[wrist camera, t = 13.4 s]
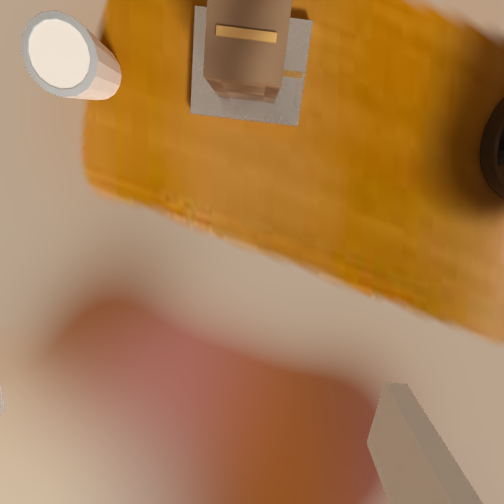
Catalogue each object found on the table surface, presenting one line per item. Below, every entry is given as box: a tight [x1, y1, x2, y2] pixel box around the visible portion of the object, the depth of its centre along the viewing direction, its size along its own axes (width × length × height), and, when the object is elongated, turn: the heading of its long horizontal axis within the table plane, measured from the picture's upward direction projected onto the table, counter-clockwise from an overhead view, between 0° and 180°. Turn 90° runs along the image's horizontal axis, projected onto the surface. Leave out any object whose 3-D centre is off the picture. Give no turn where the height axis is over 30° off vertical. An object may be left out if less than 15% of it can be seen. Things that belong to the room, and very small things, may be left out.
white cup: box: [21, 11, 122, 100], centre depth 32 cm, size 7×7×7 cm
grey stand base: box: [190, 6, 313, 127], centre depth 32 cm, size 12×10×6 cm
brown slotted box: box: [203, 0, 292, 104], centre depth 28 cm, size 6×6×11 cm
